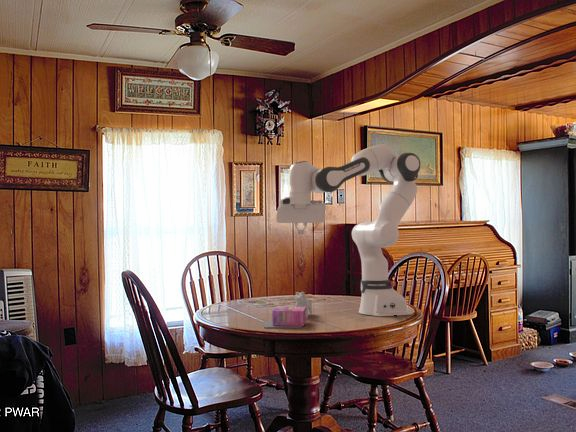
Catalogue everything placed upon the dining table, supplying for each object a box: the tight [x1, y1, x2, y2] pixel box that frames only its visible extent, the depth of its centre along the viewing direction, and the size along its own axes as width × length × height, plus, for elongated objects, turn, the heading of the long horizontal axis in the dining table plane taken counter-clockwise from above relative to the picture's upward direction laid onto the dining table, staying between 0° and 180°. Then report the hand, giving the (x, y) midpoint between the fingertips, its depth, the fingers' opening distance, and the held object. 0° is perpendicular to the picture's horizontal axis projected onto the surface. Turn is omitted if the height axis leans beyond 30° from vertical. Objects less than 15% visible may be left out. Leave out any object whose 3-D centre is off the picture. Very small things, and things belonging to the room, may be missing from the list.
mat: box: [264, 320, 303, 329], centre depth 196 cm, size 14×12×1 cm
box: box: [271, 305, 308, 327], centre depth 197 cm, size 10×6×12 cm
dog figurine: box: [294, 291, 313, 319], centre depth 214 cm, size 5×13×11 cm, turn 162°
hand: (300, 234), depth 212 cm, fingers closed
